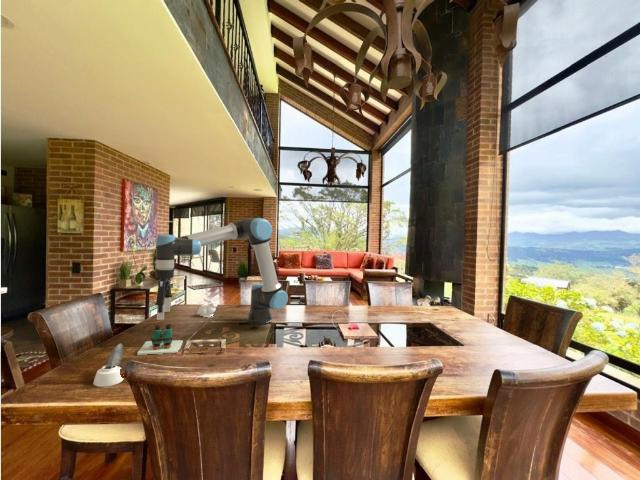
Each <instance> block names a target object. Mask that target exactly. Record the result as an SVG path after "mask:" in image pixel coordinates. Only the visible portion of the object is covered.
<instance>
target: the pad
mask: <svg viewBox="0 0 640 480" xmlns="http://www.w3.org/2000/svg"><path fill="white" fill-rule="evenodd" d="M183 343H184V341H183V339H182V340H181V339H179V340H177V339H176V340H173V339H172V342H171V348H164V343H163V341H162V343H161V344H160V348H159V349H157V350H154V349H153V346H154V345H153V344H152V340H146V341H145V342H144V343H143V345H142V346H141V348H140V349H138V351H137V354H136V355H137V356H148V355H147V354H158V355H164V354H163V353H173V352H178V350H179V349H180V350H181V348H182V345H183ZM180 350H179V351H180ZM178 353H179V352H178Z"/></svg>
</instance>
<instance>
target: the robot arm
mask: <svg viewBox="0 0 640 480" xmlns="http://www.w3.org/2000/svg"><path fill="white" fill-rule="evenodd" d="M272 234H273V226H272V224H271V223H270V221H268V220H267V219H265V218H261V217H253V218H252V217H250V218H249V217H248V218H247V217H246V218H242V219H239V220H237V221H236V220H235V221H233V222H229V223H228V225H225V226H219V227H216V228H212V229H208V230H203V231H199V232H194V233H191V234H186V235H183V236H175V235H174V234H158V235H157V236H156V240H155V261H154V264H155V268H156V269H155V278H156V279H160V281H158V282H157V284H158V285H157V294H156V302H155V303H154V304H155V306H156V307H157V308H156V320H157V321H158V320H159V321H163V320H165V313H166V312H167V313H168V312H171V298H173V295H172V289H171V279H172V278H174V276H175V270H174V268H175V256H195V255H196V256H197V255H199V254H201V252H202V247H205V246H208V245H209V246H210V245H213V244H216V243H219V242H223V241H227V240H231V239H232V240H238V239H247V240H248V241H249V245H250V246H251V247H253V250H254V253H255V257H256V261H257V266H258V269H259V275H260V278H261V282H262V283H257V284H253V285H251V290H250V309H249V312H248V315H247V317H246V322H247V323H248V324H250V325H266V324H265V323H266V322H268V321H270V320H272V321H273V317H272V313H271V310H273V311H281V310H283V308H285V307H286V305H287V304H288V300H289V296H288V293H287V292H286V291H285V290H283V287H282V283H280V282H279V281H278V276H277V272H276V268H275V264H274V260H273V255H272V251H271V248H270V243H271V241H272V239H271V237H272Z"/></svg>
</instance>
